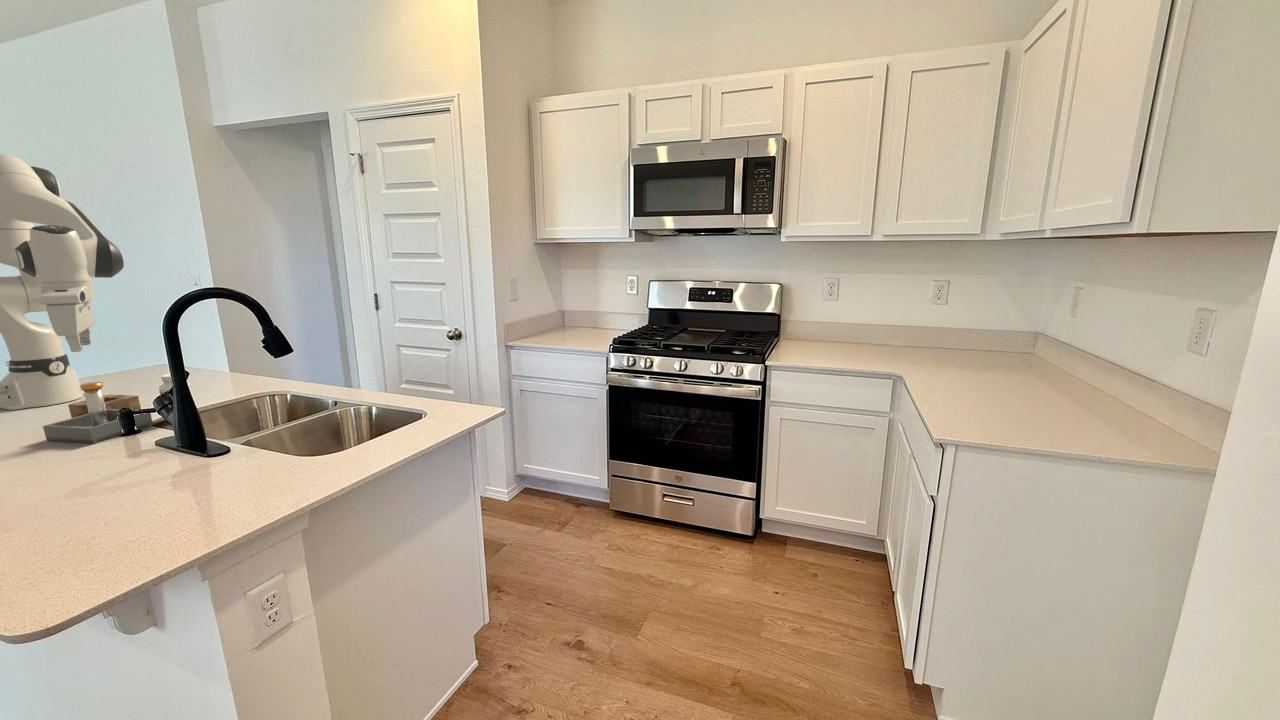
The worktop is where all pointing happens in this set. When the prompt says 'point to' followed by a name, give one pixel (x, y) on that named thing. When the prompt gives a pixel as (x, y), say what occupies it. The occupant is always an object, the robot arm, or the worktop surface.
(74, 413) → the socket block
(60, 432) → the tray
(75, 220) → the robot arm
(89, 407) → the corked glass vial
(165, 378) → the supplement bottle
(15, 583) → the worktop surface
